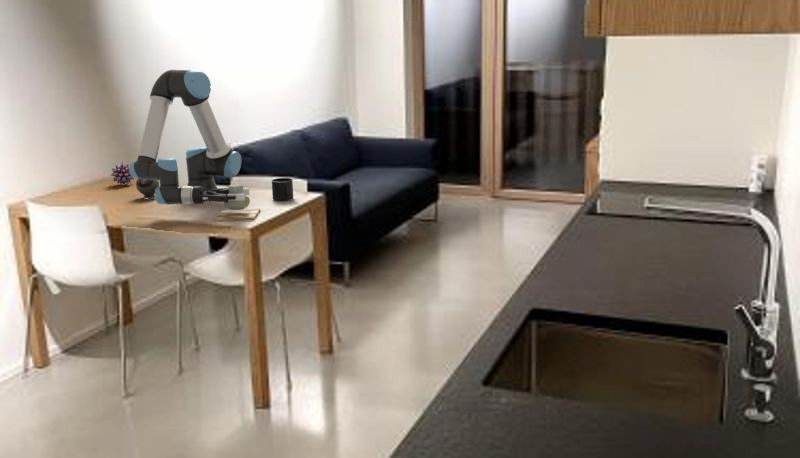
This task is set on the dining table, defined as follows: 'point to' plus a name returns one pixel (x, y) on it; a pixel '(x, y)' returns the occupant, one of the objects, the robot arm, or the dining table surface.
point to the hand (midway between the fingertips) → (246, 194)
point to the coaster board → (237, 215)
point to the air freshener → (237, 204)
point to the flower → (122, 173)
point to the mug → (282, 189)
